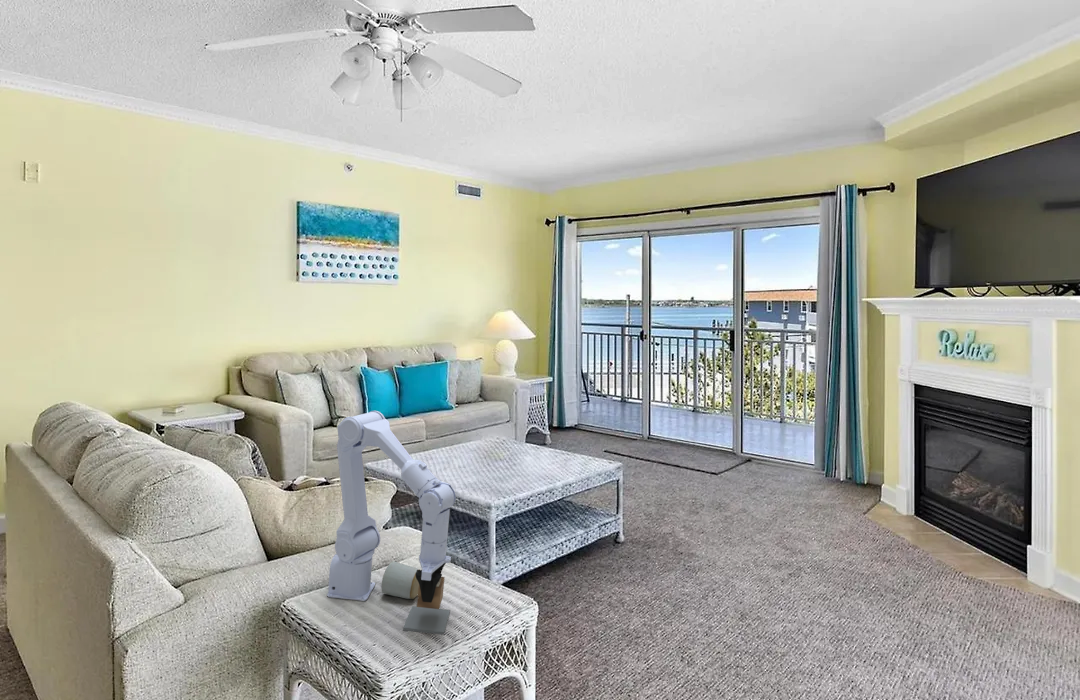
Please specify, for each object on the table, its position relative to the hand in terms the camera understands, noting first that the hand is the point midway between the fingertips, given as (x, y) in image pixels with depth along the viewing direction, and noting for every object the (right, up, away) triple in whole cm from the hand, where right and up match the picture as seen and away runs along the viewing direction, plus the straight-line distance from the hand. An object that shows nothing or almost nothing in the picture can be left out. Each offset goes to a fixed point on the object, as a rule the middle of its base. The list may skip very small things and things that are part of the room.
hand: (429, 594), depth 142 cm
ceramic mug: (-9, -4, +12) cm, 16 cm away
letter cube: (0, -2, 0) cm, 2 cm away
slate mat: (-1, -6, +1) cm, 6 cm away
